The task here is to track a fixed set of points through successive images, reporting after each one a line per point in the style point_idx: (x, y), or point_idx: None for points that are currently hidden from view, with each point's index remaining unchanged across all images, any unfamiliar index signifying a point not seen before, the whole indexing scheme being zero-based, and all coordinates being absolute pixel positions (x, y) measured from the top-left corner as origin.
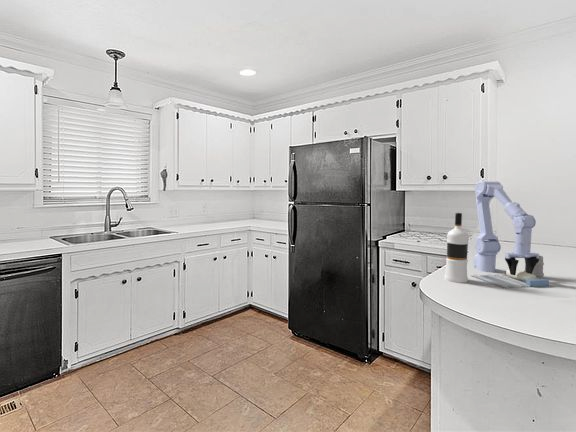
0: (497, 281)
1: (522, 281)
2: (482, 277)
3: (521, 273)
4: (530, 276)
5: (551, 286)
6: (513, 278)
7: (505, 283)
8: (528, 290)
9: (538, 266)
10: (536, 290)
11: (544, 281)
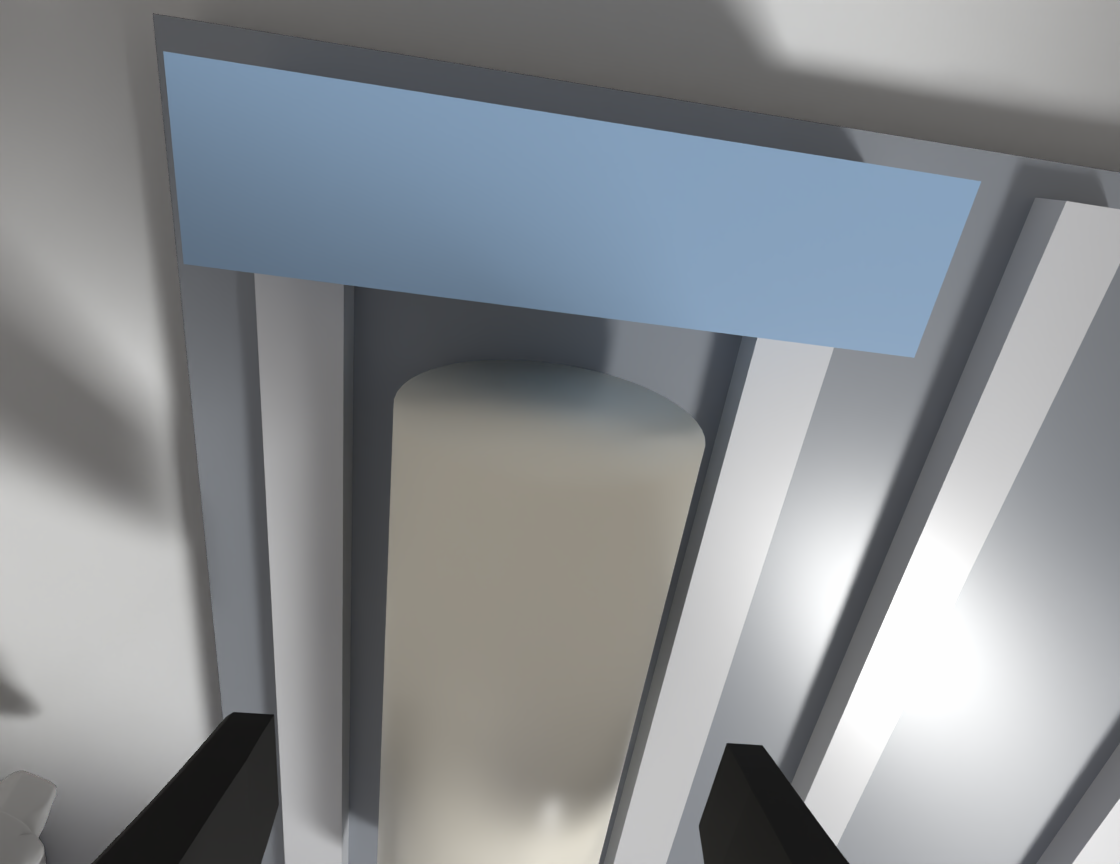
0: (1049, 674)
1: None
2: (1111, 855)
3: (609, 748)
4: (644, 463)
5: (190, 20)
6: None
7: (1077, 540)
8: (983, 86)
9: None
10: (788, 22)
11: (381, 91)
